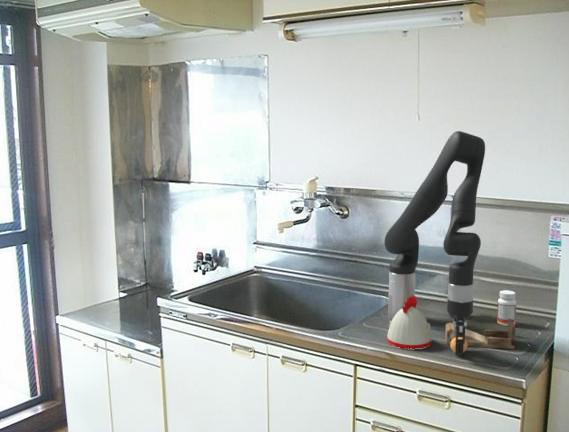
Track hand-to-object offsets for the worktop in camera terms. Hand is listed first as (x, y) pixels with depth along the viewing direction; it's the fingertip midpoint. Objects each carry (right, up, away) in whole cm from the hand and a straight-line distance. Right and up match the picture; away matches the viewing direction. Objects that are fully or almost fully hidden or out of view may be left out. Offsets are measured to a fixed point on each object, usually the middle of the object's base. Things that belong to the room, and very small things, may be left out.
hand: (458, 351), depth 191 cm
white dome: (-13, 0, +10) cm, 17 cm away
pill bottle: (+24, +3, +28) cm, 37 cm away
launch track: (+9, -1, +10) cm, 13 cm away
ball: (0, +2, 0) cm, 2 cm away
